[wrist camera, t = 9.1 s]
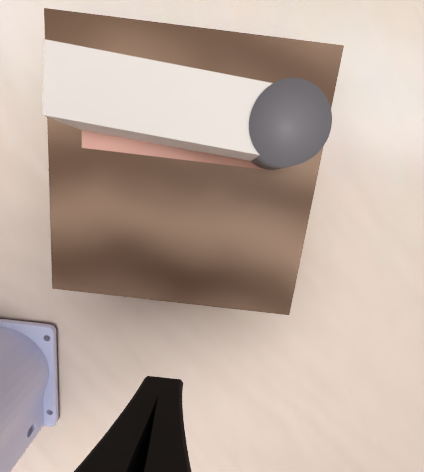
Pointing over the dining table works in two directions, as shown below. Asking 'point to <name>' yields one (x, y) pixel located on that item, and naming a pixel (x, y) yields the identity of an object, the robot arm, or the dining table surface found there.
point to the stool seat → (180, 182)
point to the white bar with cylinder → (185, 106)
